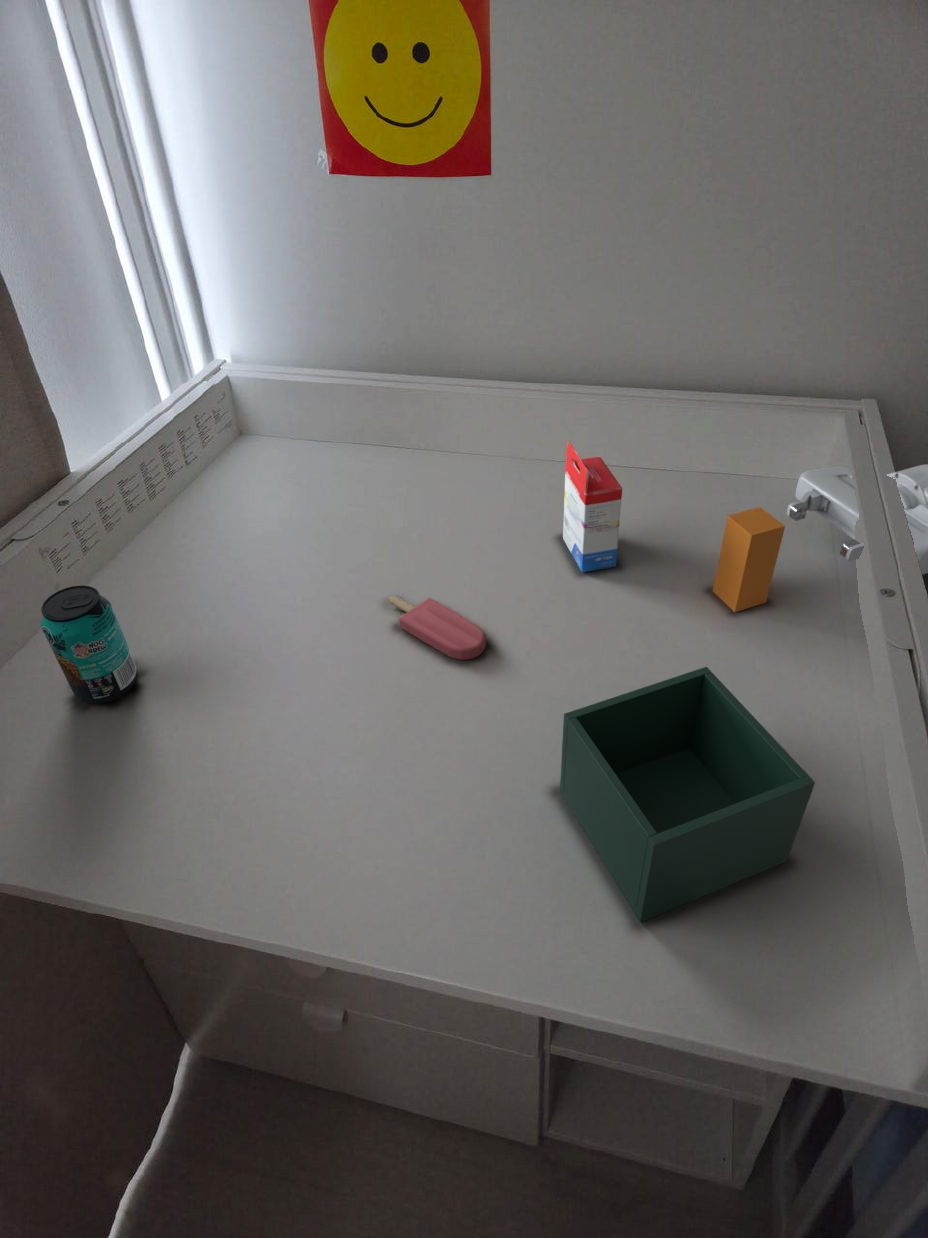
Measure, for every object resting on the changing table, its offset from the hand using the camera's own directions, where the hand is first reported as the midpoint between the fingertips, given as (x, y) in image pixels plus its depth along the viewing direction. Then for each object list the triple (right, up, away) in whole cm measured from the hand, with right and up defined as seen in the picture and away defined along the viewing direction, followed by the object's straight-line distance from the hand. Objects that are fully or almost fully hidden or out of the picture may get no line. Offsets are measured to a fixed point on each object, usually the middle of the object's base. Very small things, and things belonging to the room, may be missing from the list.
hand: (817, 531), depth 97 cm
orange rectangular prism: (-9, -8, +2) cm, 12 cm away
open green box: (-24, -29, -23) cm, 44 cm away
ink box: (-26, -2, +10) cm, 28 cm away
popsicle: (-46, -12, 0) cm, 47 cm away
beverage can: (-82, -18, -5) cm, 85 cm away
